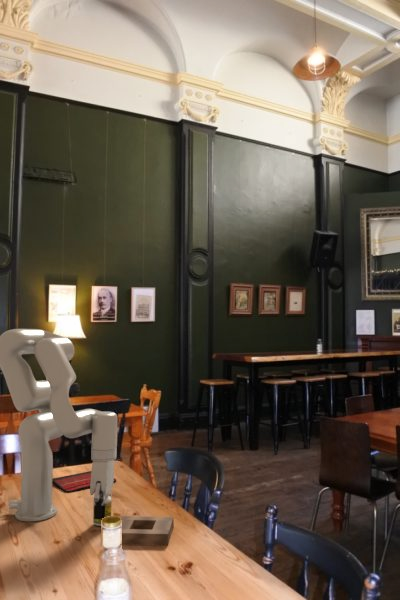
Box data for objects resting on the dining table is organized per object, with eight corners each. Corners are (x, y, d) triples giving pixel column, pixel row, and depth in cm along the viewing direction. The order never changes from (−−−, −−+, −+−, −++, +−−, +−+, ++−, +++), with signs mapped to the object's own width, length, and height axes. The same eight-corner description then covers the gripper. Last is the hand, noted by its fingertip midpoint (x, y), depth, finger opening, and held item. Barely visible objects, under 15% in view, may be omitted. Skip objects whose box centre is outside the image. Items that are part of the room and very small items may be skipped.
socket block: (109, 544, 130) (109, 532, 130) (120, 526, 142) (120, 516, 142) (167, 545, 129) (167, 534, 129) (173, 527, 141) (173, 517, 141)
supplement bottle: (107, 517, 148) (107, 486, 148) (114, 524, 143) (114, 491, 144) (90, 521, 145) (91, 489, 145) (96, 527, 140) (97, 494, 141)
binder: (50, 478, 185) (99, 468, 198) (49, 484, 184) (99, 474, 197) (66, 490, 172) (118, 479, 185) (66, 497, 172) (118, 485, 185)
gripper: (99, 446, 154) (98, 503, 153) (83, 460, 137) (80, 525, 136) (122, 447, 153) (121, 504, 152) (108, 461, 136) (106, 527, 135)
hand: (102, 514), depth 144 cm, fingers closed on supplement bottle, 5 cm apart
